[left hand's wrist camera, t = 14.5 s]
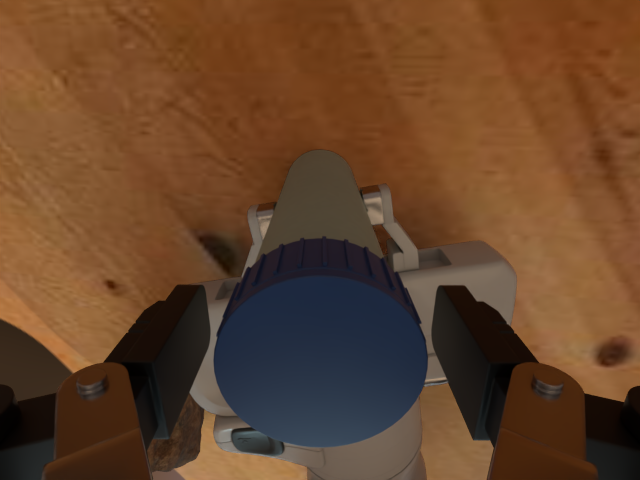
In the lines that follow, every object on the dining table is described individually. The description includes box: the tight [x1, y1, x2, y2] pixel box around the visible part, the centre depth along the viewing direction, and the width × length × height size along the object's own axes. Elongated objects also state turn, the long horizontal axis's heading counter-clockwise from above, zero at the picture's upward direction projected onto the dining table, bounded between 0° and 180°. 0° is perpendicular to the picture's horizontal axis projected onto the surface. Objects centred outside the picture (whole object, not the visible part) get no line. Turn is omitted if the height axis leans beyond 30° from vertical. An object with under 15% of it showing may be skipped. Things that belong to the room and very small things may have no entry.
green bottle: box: [255, 150, 384, 263], centre depth 18 cm, size 5×5×19 cm
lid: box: [213, 236, 428, 448], centre depth 10 cm, size 5×5×2 cm
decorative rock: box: [147, 393, 204, 472], centre depth 28 cm, size 12×6×11 cm, turn 175°
